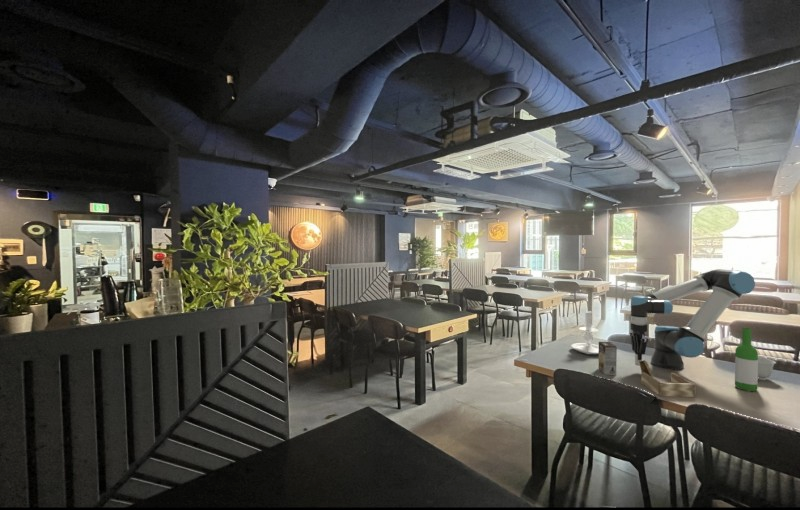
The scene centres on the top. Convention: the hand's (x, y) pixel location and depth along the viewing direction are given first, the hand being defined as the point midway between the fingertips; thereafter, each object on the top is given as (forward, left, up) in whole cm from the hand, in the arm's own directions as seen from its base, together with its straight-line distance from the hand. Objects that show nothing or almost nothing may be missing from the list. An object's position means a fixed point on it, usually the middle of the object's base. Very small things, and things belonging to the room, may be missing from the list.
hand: (638, 365), depth 185 cm
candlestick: (+13, -31, -4) cm, 34 cm away
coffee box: (+17, +1, -4) cm, 17 cm away
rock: (0, +8, -4) cm, 9 cm away
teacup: (-58, +4, -4) cm, 58 cm away
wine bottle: (-39, +19, -4) cm, 44 cm away
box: (0, +22, -4) cm, 22 cm away
